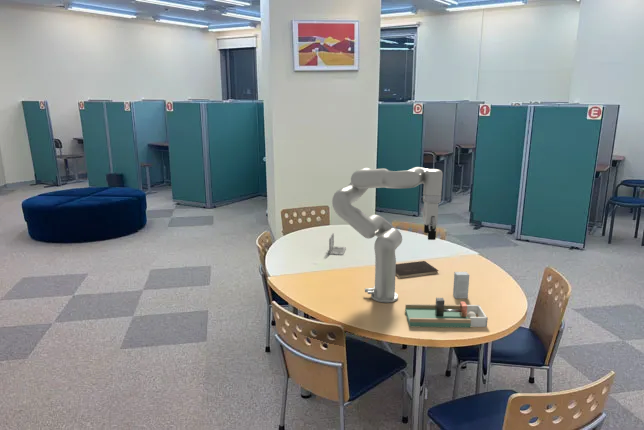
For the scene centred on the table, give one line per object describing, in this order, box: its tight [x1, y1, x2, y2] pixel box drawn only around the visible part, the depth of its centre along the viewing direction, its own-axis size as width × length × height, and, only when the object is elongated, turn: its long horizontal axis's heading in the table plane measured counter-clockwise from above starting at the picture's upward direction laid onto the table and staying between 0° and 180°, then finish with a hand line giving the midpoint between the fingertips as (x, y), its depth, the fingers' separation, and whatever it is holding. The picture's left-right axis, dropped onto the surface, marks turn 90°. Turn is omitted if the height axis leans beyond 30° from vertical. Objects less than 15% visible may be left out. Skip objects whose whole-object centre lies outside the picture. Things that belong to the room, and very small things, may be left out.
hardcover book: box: [395, 260, 439, 279], centre depth 253 cm, size 16×23×2 cm
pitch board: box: [404, 303, 472, 329], centre depth 199 cm, size 25×14×4 cm, turn 87°
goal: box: [466, 304, 489, 328], centre depth 198 cm, size 7×12×4 cm, turn 178°
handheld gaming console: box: [327, 232, 347, 256], centre depth 283 cm, size 13×9×10 cm
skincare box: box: [452, 271, 470, 299], centre depth 219 cm, size 6×4×12 cm
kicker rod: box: [435, 297, 468, 317], centre depth 197 cm, size 12×4×7 cm, turn 87°
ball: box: [467, 312, 477, 319], centre depth 198 cm, size 4×4×4 cm
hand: (429, 236), depth 203 cm, fingers open, 9 cm apart
